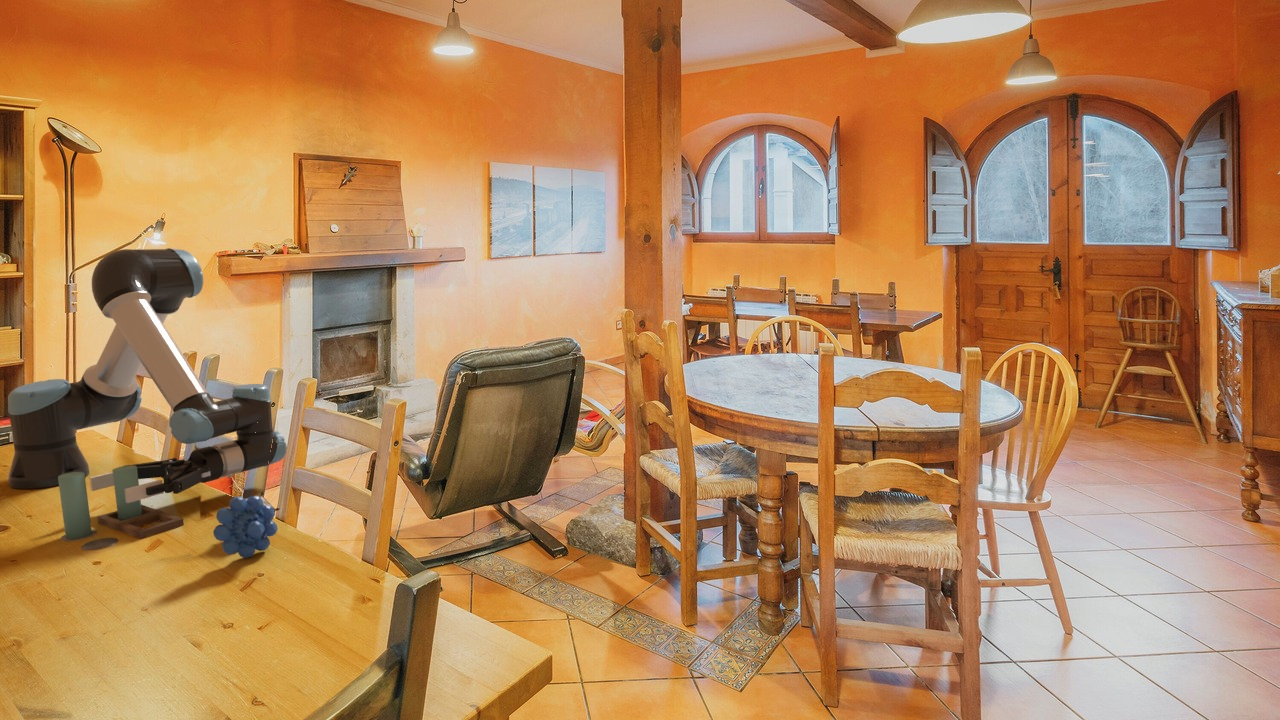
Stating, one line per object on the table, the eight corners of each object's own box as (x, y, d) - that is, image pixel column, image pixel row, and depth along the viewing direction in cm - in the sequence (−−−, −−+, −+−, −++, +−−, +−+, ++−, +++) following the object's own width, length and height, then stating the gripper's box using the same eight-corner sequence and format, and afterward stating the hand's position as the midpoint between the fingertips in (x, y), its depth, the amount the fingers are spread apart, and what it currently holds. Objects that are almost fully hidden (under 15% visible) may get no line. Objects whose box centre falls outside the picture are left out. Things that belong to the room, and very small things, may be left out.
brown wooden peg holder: (98, 528, 147) (97, 516, 147) (141, 515, 154) (140, 504, 154) (140, 544, 139) (139, 532, 139) (184, 530, 146) (183, 518, 146)
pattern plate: (51, 542, 141) (50, 536, 140) (98, 528, 147) (97, 522, 147) (93, 560, 133) (92, 554, 132) (140, 544, 139) (140, 538, 139)
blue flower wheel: (232, 575, 127) (226, 509, 125) (209, 566, 130) (203, 502, 129) (292, 550, 137) (287, 489, 135) (270, 543, 140) (265, 483, 138)
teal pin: (120, 524, 150) (113, 467, 148) (143, 520, 152) (137, 464, 150) (118, 530, 146) (111, 472, 144) (142, 527, 148) (135, 469, 146)
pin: (67, 533, 142) (59, 473, 140) (93, 529, 144) (85, 470, 142) (64, 540, 138) (56, 479, 136) (90, 536, 140) (82, 476, 138)
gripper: (250, 487, 157) (143, 520, 139) (185, 469, 170) (79, 497, 151) (247, 454, 156) (139, 482, 138) (182, 438, 168) (75, 462, 150)
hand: (107, 490), depth 145 cm, fingers open, 13 cm apart
